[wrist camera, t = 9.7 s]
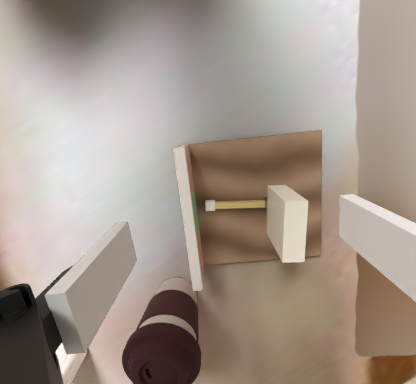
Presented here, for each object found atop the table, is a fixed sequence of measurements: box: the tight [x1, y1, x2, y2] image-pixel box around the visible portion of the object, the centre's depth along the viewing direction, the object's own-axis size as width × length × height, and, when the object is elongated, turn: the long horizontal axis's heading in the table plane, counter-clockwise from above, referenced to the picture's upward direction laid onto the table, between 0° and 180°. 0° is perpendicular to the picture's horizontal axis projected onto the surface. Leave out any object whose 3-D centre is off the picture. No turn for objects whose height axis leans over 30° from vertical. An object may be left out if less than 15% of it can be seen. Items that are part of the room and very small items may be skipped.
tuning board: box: [180, 130, 322, 265], centre depth 38 cm, size 20×21×1 cm
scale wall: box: [173, 145, 204, 291], centre depth 34 cm, size 20×1×7 cm, turn 6°
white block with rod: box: [205, 185, 308, 263], centre depth 31 cm, size 11×7×12 cm, turn 92°
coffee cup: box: [122, 278, 201, 384], centre depth 35 cm, size 10×10×15 cm
